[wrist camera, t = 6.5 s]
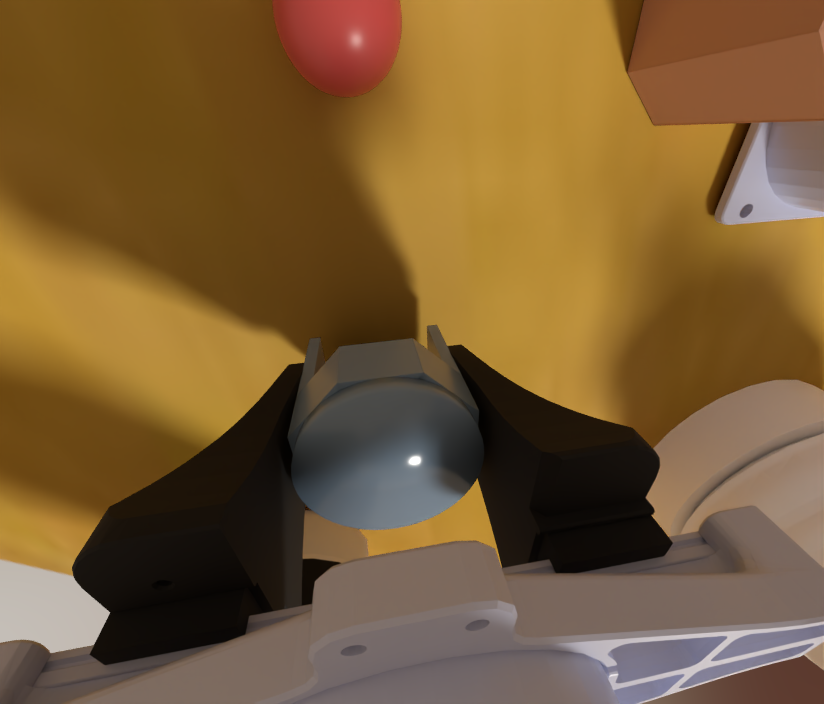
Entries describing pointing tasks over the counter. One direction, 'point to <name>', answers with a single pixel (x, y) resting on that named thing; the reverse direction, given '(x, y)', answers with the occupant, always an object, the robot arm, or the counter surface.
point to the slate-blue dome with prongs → (384, 433)
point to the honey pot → (749, 465)
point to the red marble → (340, 41)
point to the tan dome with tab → (730, 61)
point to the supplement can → (326, 549)
